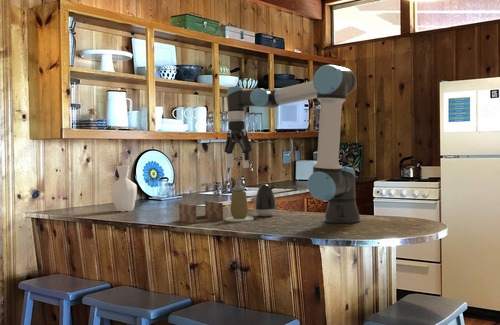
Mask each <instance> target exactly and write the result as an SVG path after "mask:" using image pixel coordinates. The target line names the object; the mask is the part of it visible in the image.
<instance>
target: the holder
mask: <svg viewBox="0 0 500 325" xmlns="http://www.w3.org/2000/svg"><path fill="white" fill-rule="evenodd" d="M223 205H224V204H223V202H218V201H210V200H204V212H205V214H204V215H197V205H195V204H189V203H184V202H182V203H181V202H180V203H178V211H179V214H178V215H179V221H181V222H184V223H189V224H193V225H194V224H202V223H203V224H204V223H213V222H220V221H221V222H222V221H224V209H223V208H224V207H223Z"/></svg>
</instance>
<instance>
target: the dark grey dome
mask: <svg viewBox="0 0 500 325" xmlns="http://www.w3.org/2000/svg"><path fill="white" fill-rule="evenodd" d="M275 188H276V189H277V186H276V185H273V186H270V185H269V184H267V183H263V184H261V185H260V186H259V188H258V189H257V191H256V192H257V193H256V196H255V200H254V209H255V212H256V213H257V215H258V216H260V217H271V216H273V215H274V214H275V212H276V209H277V202H276V198H275V195H274V191H273V189H275Z"/></svg>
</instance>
